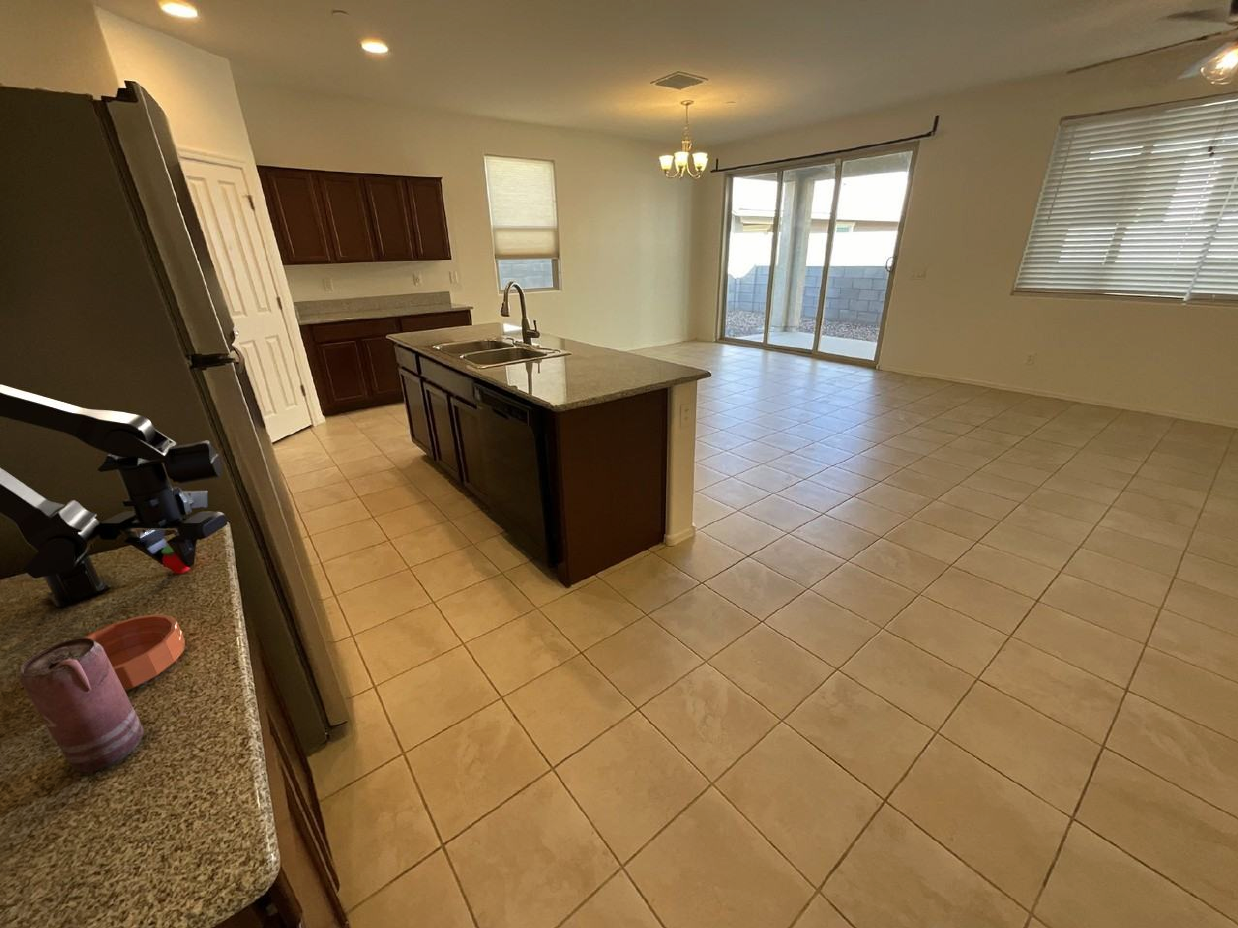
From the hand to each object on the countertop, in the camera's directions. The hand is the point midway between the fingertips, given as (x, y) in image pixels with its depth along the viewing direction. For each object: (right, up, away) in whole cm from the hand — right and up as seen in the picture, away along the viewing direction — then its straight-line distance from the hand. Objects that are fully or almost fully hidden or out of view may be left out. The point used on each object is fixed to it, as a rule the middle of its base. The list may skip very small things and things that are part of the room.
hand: (180, 566), depth 92 cm
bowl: (+12, -10, -22) cm, 27 cm away
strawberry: (0, -1, 0) cm, 1 cm away
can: (+22, -15, -34) cm, 43 cm away
